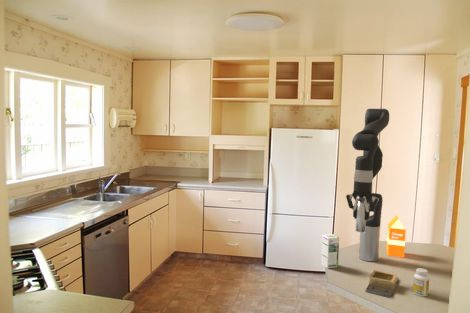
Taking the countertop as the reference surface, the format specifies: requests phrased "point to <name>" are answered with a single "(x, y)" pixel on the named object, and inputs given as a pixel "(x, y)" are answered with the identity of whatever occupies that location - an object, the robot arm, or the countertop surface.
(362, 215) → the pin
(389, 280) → the bolted socket base
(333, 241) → the syrup box
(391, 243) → the orange juice
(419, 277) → the supplement bottle
